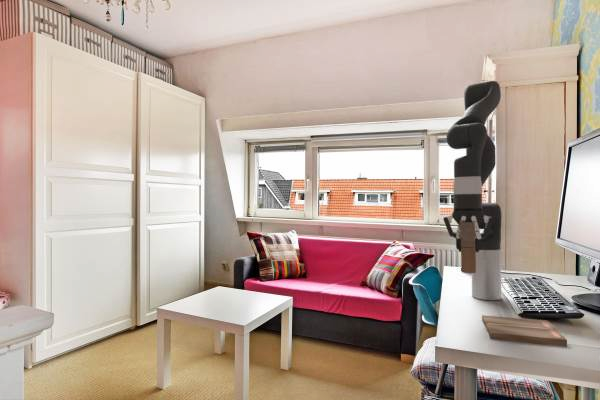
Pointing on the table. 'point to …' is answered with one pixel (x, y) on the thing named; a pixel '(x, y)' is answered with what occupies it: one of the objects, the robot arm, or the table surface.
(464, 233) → the tan cylinder-on-bar part
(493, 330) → the board
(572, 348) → the table surface
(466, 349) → the table surface
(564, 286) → the table surface
